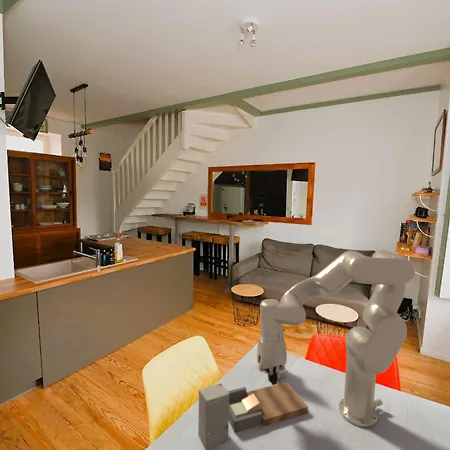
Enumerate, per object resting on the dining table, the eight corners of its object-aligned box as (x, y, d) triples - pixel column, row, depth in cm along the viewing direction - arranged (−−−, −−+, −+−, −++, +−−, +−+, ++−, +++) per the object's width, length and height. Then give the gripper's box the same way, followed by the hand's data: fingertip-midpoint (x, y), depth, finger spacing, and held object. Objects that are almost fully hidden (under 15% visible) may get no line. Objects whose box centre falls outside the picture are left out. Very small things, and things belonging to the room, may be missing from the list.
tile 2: (255, 398, 104) (253, 393, 103) (261, 408, 99) (259, 402, 99) (243, 405, 102) (241, 400, 102) (249, 416, 98) (247, 410, 97)
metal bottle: (281, 384, 116) (283, 338, 114) (266, 377, 120) (268, 333, 118) (288, 376, 121) (289, 332, 119) (273, 370, 125) (275, 327, 123)
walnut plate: (286, 387, 114) (286, 381, 114) (307, 413, 101) (308, 406, 101) (245, 398, 108) (246, 392, 108) (263, 426, 95) (263, 420, 95)
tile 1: (241, 408, 102) (242, 401, 102) (247, 418, 98) (247, 412, 97) (229, 411, 101) (229, 405, 100) (234, 422, 96) (234, 415, 96)
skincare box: (205, 450, 86) (206, 403, 84) (197, 433, 92) (197, 388, 90) (230, 440, 90) (230, 394, 88) (220, 423, 96) (220, 380, 94)
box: (244, 396, 109) (245, 386, 109) (261, 424, 96) (262, 413, 96) (220, 402, 106) (220, 392, 105) (234, 432, 93) (234, 421, 92)
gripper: (284, 325, 106) (285, 371, 108) (248, 334, 101) (249, 381, 103) (295, 334, 99) (296, 383, 101) (257, 344, 94) (259, 395, 96)
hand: (273, 382), depth 102 cm, fingers closed
